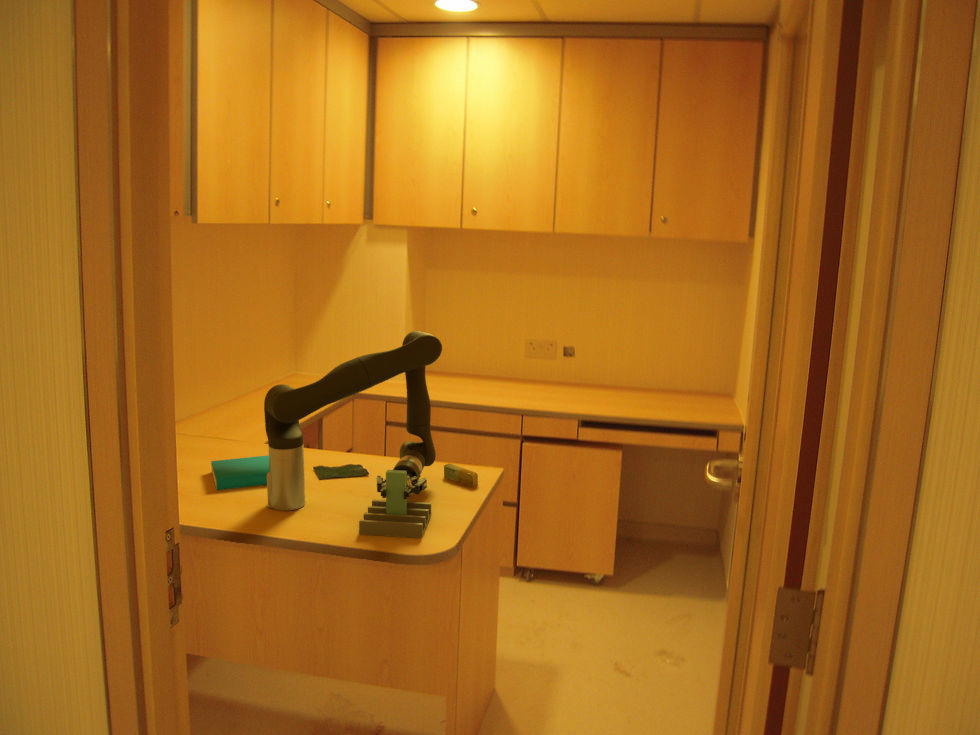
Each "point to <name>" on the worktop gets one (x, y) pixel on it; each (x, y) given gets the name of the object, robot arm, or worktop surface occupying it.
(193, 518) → the worktop surface
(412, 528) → the rack
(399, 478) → the card
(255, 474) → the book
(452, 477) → the medication box
